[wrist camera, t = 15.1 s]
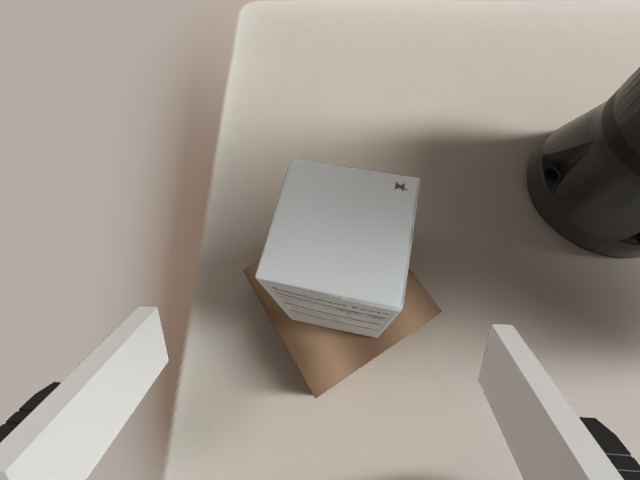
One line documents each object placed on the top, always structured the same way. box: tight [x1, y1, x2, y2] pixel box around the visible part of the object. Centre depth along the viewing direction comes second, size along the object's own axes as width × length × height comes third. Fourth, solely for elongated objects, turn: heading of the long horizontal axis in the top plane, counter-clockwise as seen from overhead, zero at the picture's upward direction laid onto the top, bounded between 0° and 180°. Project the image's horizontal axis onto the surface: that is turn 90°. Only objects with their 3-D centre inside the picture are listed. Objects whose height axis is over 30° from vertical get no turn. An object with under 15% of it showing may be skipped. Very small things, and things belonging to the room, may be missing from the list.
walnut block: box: [243, 260, 442, 399], centre depth 31 cm, size 12×12×5 cm
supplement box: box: [255, 159, 421, 338], centre depth 23 cm, size 7×7×13 cm
